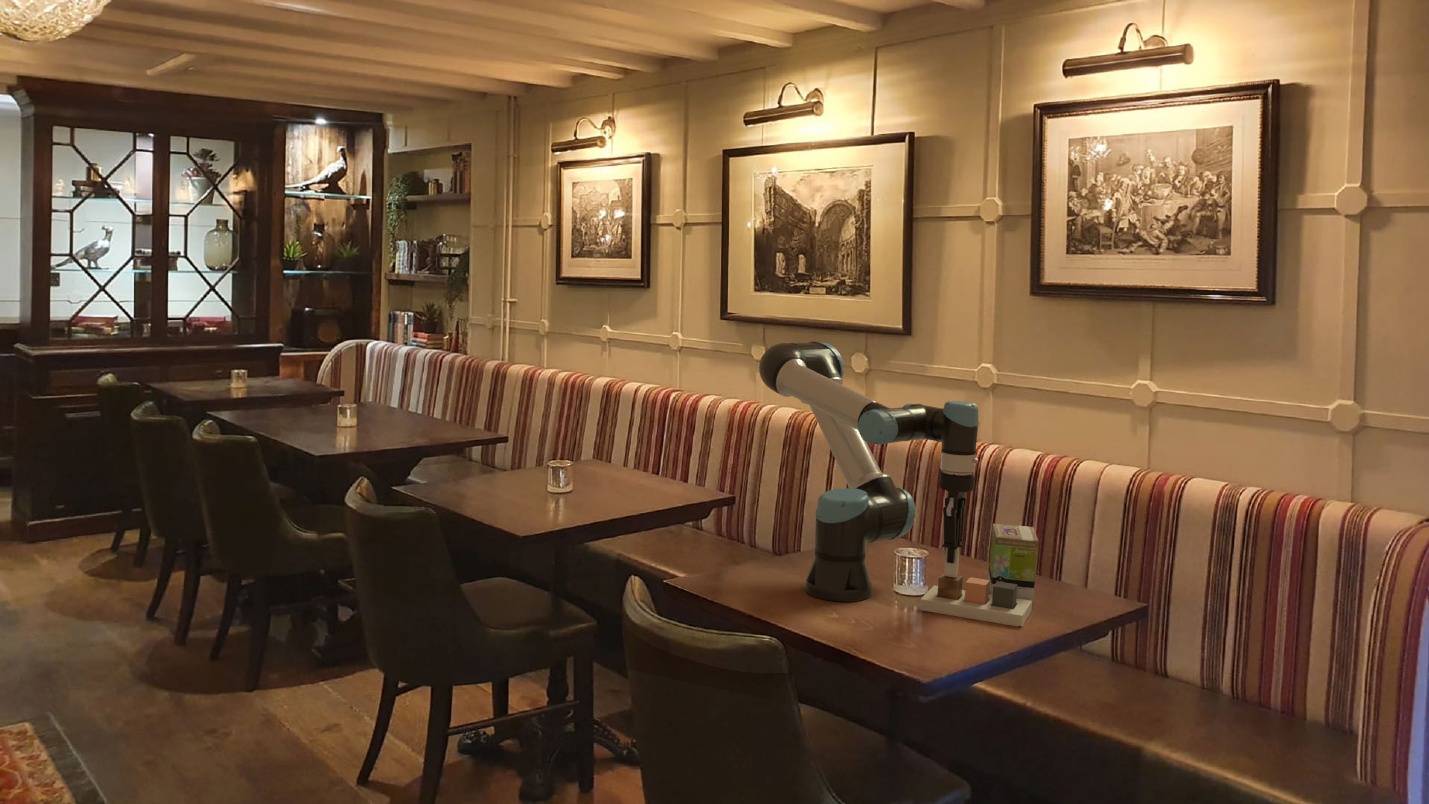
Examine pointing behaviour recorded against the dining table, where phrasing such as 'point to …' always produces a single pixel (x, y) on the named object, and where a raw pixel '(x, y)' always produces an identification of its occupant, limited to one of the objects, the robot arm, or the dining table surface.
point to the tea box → (1014, 558)
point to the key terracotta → (977, 590)
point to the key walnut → (950, 587)
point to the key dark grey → (1004, 595)
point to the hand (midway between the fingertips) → (950, 575)
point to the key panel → (976, 609)
